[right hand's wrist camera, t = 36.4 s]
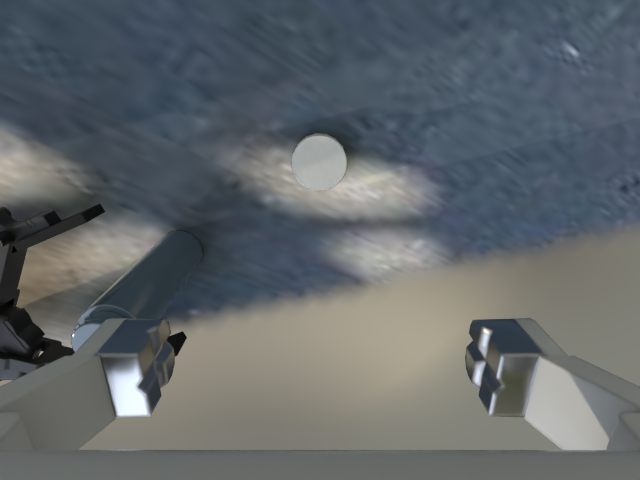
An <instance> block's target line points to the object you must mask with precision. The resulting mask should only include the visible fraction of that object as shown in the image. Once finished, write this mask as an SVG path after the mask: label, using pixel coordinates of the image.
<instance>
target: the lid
mask: <svg viewBox="0 0 640 480" xmlns="http://www.w3.org/2000/svg"><path fill="white" fill-rule="evenodd" d="M292 154H293V156H292V162H291V164H292V170H293V174H294V175H295V177H296V179H297V180H298V181H299V183H301V184H302V185H303V186H304V187H306V188H308V189H311V190H315V191H323V190H328V189H330V188H332V187H334V186H335V185H337V184H338V183H339V182H340V181H341V179H342V178H343V176H344V174H345V172H346V168H347V159H346V158H347V156H346V155H345V152H344V150H343V146H341V144H340V143H339V142H338V141H337V140H336V138H333V137H331V136H329V135H327V134H320V133H318V134H317V133H315V134H312V135H309V136H306V137H305V138H304V139H302V140H301V141H300V142H298V144H297V146H296V148H295V151H293V153H292Z"/></svg>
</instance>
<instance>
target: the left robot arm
mask: <svg viewBox="0 0 640 480" xmlns="http://www.w3.org/2000/svg"><path fill="white" fill-rule="evenodd" d="M104 212H105V211H104V209H103V208H102V206H101V205H100V204H98V205H96V206H94V207H91V208H89V209H87V210H85V211H82V212H80V213H78V214H75V215H73V216H71V217H69V218H66V219H64V220H62V221H61V219H60V218H59V217H58V215H57V214H56V212H55V211H46V212H44V213H42V214H40V215H37V216H35V217H33V218H31V219H28V220H26V221H24V222H19V221H16V220H14V219H13V218H11V213H10V211H9V210H8V209H7V208H5V207H0V381H2V380H15V379H17V378H20V377H22V376H24V375H26V374H28V373H30V372H32V371H34V370H36V369H39V368H41V367H43V366H45V365H47V364H49V363H51V362H53V361H56V360H58V359H60V358H62V357H64V356H72V355H73V354H74V353H75V352H74V350H73V349H72V348H69V347H65V346H62V343H61V342H60V341H57V340H53V339H48V338H44V337H43V335H45V334H44V333H43V331H42V330H41V329H40V328H39V327H38V326H37V325H35V324H34V323H33V322H32V320H31V318H30V316H29V314H28V313H27V312H26V310H25V309H24V308H23V309H20V308H18V307H16V305H17V301H18V297H19V293H20V290H19V289H17V287H18V283H19V279H20V275H21V272H22V268H23V264H24V260H25V256H26V252H27V248H28V247H31V246H33V245H35V244H38V243H40V242H42V241H45V240H47V239H49V238H51V237H54V236H56V235H58V234H61V233H63V232H65V231H67V230H70V229H72V228H74V227H77V226H79V225H81V224H84V223H86V222H88V221H90V220H91V219H93V218H95V217H97V216H98V215H100V214H102V213H104ZM186 338H187V337H186V335H185V334H184V332H180V333H177V334H174V335H172V336H169V337H168V339H167V341H168V342H169V343H170V344H171V345H172V346H173V348H174V355H175V356H177V355H178V353H179V351H180V349H181V347H182V346H183V344H184V342H185V340H186ZM40 351H44V352H43V353H42V354H41V355H40V356H39V354H40ZM38 356H39V357H38Z"/></svg>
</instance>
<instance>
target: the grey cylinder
mask: <svg viewBox="0 0 640 480" xmlns="http://www.w3.org/2000/svg"><path fill="white" fill-rule="evenodd" d="M202 256H203V250H202V246H201V244H200V242H199V241H198V240H197V238H196V237H194V236H193V235H192V234H190V233H188V232H185V231H172V232H170V233H168V234H166V235H165V236H164V237H163V238H162V239H161V240H160V241H159V242H158V243H157V244H155V245H154V246H153V247H152V248H151V249H150V250H149V251H148V252H147V253H146V254H145V255H144V256H143V257H142V258H141V259H140V260H138V261H137V262H136V263H135V264H134V265H133V266H132V267H131V268H130V269H129V270H128V271H127V272H126V273H125V274H124V275H123V276H122V277H120V278H119V279H118V280H117V281H116V282H115V283H114V284H113V285H112V286H111V287H110V288H109V289H108V290H107V291H106V292H105V293H103V294H102V295H101V296H100V297H99V298H98V299H97V300H96V301H95V302H94V303H93V304H92V305H91V306H90V307H89V308H88V309H86V310H85V311H84V312H83V314H82V315H81V317H80V319H79V323H78V325H77V326H76V327H75V329H74V330H73V333H72V335H71V344H72V347H73V348H72V349H73V350H74V352H76V351H77V350H78V349H79V348H80V346H81V345H82V344H83V343H84V342H85V341H86V340H87V339H88V338H89V337H90V336H91V335H92V334H93V333H94V332H95V331H96V330H97V328H98V327H99V326H100V325H101V324H102V323H103V322H104V321H105V320H107V319H111V318H127V319H129V318H130V319H161V318H162V316H163V315H164V313H165V312H166V310H167V309H168V308H169V306H170V305H171V303H172V302H173V300H174V299H175V297H176V296H177V295H178V293H179V292H180V290H181V289H182V287H183V286H184V285H185V283H186V282H187V280H188V279H189V277H190V276H191V274H192V273H193V272H194V270H195V269H196V267H197V266H198V264H199V263H200V261H201V259H202Z"/></svg>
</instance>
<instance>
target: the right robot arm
mask: <svg viewBox="0 0 640 480" xmlns="http://www.w3.org/2000/svg"><path fill="white" fill-rule="evenodd" d="M170 334H171V331H170V326H169V322H168V321H167V320H166V319H130V318H129V319H127V318H111V319H107V320H105V321H104V322H103V323H102V324H101V325H100V326H99V327H98V328H97V330H96V331H95V332H94V333H93V334H92V335H91V336H90V337H89V338H88V339H87V340H86V341H85V342H84V343H83V344H82V345H81V346H80V348H79V349H78V350H77V351H76V352H75V353H74V354H73V355H72V356H64V357H62V358H60V359H58V360H56V361H53V362H51V363H49V364H47V365H45V366H43V367H41V368H39V369H36V370H34V371H32V372H30V373H28V374H26V375H24V376H22V377H20V378H17V379H15V380H13V381H11V382H9V383H7V384H5V385H3V386H1V387H0V480H640V387H639V386H637V385H635V384H633V383H631V382H629V381H627V380H624V379H622V378H620V377H618V376H616V375H614V374H612V373H610V372H608V371H606V370H603V369H601V368H599V367H597V366H595V365H593V364H591V363H589V362H587V361H584V360H582V359H580V358H578V357H576V356H568V355H567V354H566V353H565V352H564V351H563V350H562V349H561V348H560V346H559V345H558V344H557V343H556V342H555V341H554V340H553V339H552V338H551V337H550V336H549V335H548V334H547V333H546V332H545V331H544V330H543V328H542V327H541V326H540V325H539V324H538V323H537V322H536V321H535V320H533V319H531V318H519V319H488V320H473V321H472V323H471V325H470V330H469V334H470V336H471V337H472V339H473V341H472V342H471V343H470V344H469V345H468V346H467V348H466V356H465V360H466V369H467V373H468V376H469V378H470V380H471V382H472V383H473V384H474V385H476V386H477V387H479V388H480V391H479V397H480V399H481V401H482V403H483V405H484V407H485V409H486V411H487V412H488V414H489V416H499V417H525V418H524V419H525V420H526V421H528V422H529V423H530V424H531V425H533V426H534V427H535V428H536V429H537V430H539V431H540V432H541V433H542V434H544V435H545V436H546V437H547V438H549V439H550V440H551V441H552V442H554V443H555V444H556V445H557V446H558V447H560V448H561V449H562V450H78V449H79V448H81V447H82V446H83V445H84V444H85V443H87V442H88V441H89V440H90V439H92V438H93V437H94V436H95V435H97V434H98V433H99V432H100V431H101V430H103V429H104V428H105V427H106V426H108V425H109V424H110V423H111V422H112V421H114V420H115V419H116V418H115V417H140V416H151V414H152V413H153V411H154V409H155V407H156V405H157V403H158V401H159V399H160V397H161V391H160V388H161V387H163V386H164V385H166V384H167V383H168V382H169V380H170V378H171V376H172V373H173V368H174V360H175V355H174V348H173V346H172V345H171V344H170V343H169V342H168V341H167V339H168V337H169V336H170Z"/></svg>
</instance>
